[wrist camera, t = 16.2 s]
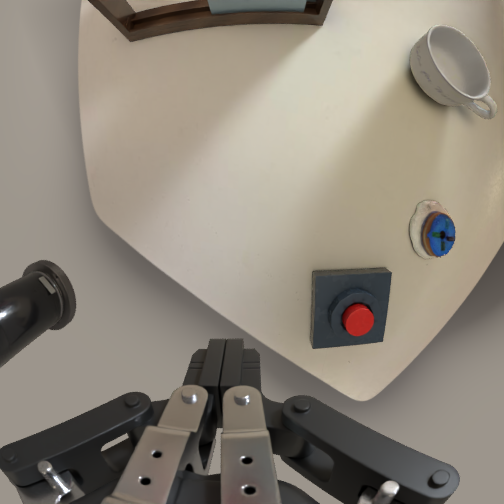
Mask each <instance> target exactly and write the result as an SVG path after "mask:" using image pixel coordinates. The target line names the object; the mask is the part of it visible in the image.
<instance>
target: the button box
mask: <svg viewBox="0 0 504 504" xmlns="http://www.w3.org/2000/svg"><path fill="white" fill-rule="evenodd" d="M391 275H392V272H391V271H389V270H388V269H386V268H370V269H350V270H328V271H313V281H312V314H311V336H310V341H311V345H312V348H313V349H316V348H329V347H340V346H350V345H360V344H368V343H377V342H383V337H384V331H385V325H386V318H387V310H388V303H389V294H390V285H391ZM357 303H360V304H364V305H365V306H367V308H368V309H369V310H370V311H371V312H372V314H373V316H374V324H373V326H372V328H371V329H370V330H369V331H368V332H367V333H366V334H364V335H361V336H353V335H351V334H349V333H348V331H347V330H346V328H345V326H344V324H343V322H342V317H343V314H344V312H345V310H346V309H347V308H348V307H349V306H351V305H353V304H357Z"/></svg>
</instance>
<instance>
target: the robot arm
mask: <svg viewBox="0 0 504 504" xmlns="http://www.w3.org/2000/svg"><path fill="white" fill-rule="evenodd" d="M63 314H64V300H63V296H62V293H61V291H60V289H59V287H58V285H57V284H56V282H55V281H54V280H53V278H52V277H51V276H49V275H48V274H47V273H45V272H43V271H39V270H37V271H33V272H31V273H29V274H28V275H26V276H24V277H22V278H20V279H18V280H15V281H13V282H11V283H9V284H7V285H6V286H3V287H1V288H0V368H1V367H2V366H3V365H4V364H6V363H7V362H8V361H9V360H10V359H11V358H13V357H14V356H15V355H16V354H17V353H19V352H20V351H21V350H22V349H23V348H25V347H26V346H27V345H29V344H30V343H31V342H32V341H34V340H35V339H36V338H37V337H39V336H40V335H41V334H42V333H44V332H45V331H46V330H47V329H49V328H50V327H52V326H53V325H55V324H56V323H58V322H59V321H60V320H61V319H62V317H63ZM243 343H244V342H243V339H227V340H226V339H210V341H209V345H208V349H199V350H197V351H196V352H195V353H194V354H193V355H192V358H191V362H190V364H189V367H188V370H187V373H186V376H185V379H184V382H183V386H181V387H179V388H177V389H176V390H175V391H174V392H173V393H172V395H171V397H170V399H167V400H161V401H154V402H151V400H150V398H149V397H148V396H147V395H146V394H144V393H141V392H130V393H126V394H124V395H122V396H120V397H118V398H116V399H113V400H111V401H109V402H108V403H105V404H103V405H101V406H99V407H97V408H94V409H92V410H90V411H88V412H86V413H83V414H81V415H79V416H77V417H74V418H72V419H70V420H68V421H65V422H64V423H61V424H59V425H56V426H54V427H51V428H49V429H46V430H44V431H41V432H39V433H36V434H34V435H32V436H29V437H27V438H24V439H21V440H19V441H16V442H13V443H11V444H8V445H6V446H3V447H2V448H1V449H0V469H1V470H2V471H3V472H4V474H5V475H6V476H7V477H8V478H9V480H10V482H11V483H12V484H13V485H14V486H15V487H16V488H17V491H18V493H19V495H20V498H21V500H22V502H23V504H320V503H318V502H317V501H315V500H314V499H313V498H312V497H310V496H309V495H308V494H306V493H305V492H304V491H302V490H301V489H299V488H297V487H296V486H294V485H292V484H289V483H287V482H284V481H281V480H277V475H276V470H275V463H274V458H273V454H276V455H280V457H281V459H282V460H283V461H284V462H285V463H286V464H287V465H289V466H290V467H292V468H293V469H294V470H295V471H297V472H298V473H300V474H301V475H302V476H304V477H305V478H306V479H308V480H309V481H311V482H312V483H314V484H315V485H317V486H318V487H319V488H321V489H322V490H324V491H325V492H327V493H328V494H330V495H331V496H333V497H334V498H336V499H338V500H339V501H341V502H342V503H344V504H444V503H445V501H447V500H448V498H449V497H450V496H451V495H452V494H453V493H454V491H455V490H456V489H457V487H458V485H459V481H460V477H459V474H458V472H457V470H456V469H455V468H454V467H453V466H451V465H449V464H447V463H444V462H442V461H439V460H437V459H434V458H432V457H430V456H427V455H425V454H423V453H420V452H418V451H416V450H414V449H412V448H409V447H407V446H405V445H403V444H401V443H399V442H396V441H394V440H392V439H390V438H388V437H386V436H384V435H382V434H380V433H378V432H376V431H374V430H372V429H370V428H368V427H366V426H364V425H362V424H360V423H358V422H356V421H355V420H353V419H351V418H349V417H347V416H345V415H343V414H342V413H340V412H338V411H336V410H334V409H333V408H331V407H329V406H327V405H326V404H324V403H322V402H320V401H319V400H317V399H315V398H313V397H310V396H304V395H299V396H294V397H291V398H289V399H287V400H286V401H285V402H284V403H278V402H274V401H271V400H269V399H267V398H265V396H264V395H263V394H262V392H261V377H260V355H259V353H258V352H257V351H256V350H255V349H244V344H243ZM217 428H223V433H221V473H220V474H214V475H208V473H209V469H210V464H211V460H212V456H213V452H214V448H215V443H216V439H215V436H216V429H217ZM126 433H127V434H128V436H129V438H128V439H126V440H124V441H122V442H120V443H118V444H116V445H114V446H112V447H110V448H108V449H106V450H104V451H102V452H101V448H102V446H104V445H105V444H106V443H108V442H110V441H112V440H114V439H116V438H118V437H120V436H122V435H124V434H126Z"/></svg>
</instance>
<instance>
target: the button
mask: <svg viewBox="0 0 504 504" xmlns="http://www.w3.org/2000/svg"><path fill="white" fill-rule="evenodd" d="M342 322H343V324H344V326H345V328H346V330H347V331H348V333H349V334H351V335H353V336H361V335H364V334H366V333H367V332H368V331H369V330H370V329H371V328H372V326H373V324H374V316H373V314H372V312H371V311H370V310H369V309H368V308H367V306H365V305H364V304H360V303H357V304H353V305H351V306H349V307H348V308H347V309H346V310H345V312H344V314H343V317H342Z"/></svg>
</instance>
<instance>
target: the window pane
mask: <svg viewBox="0 0 504 504" xmlns="http://www.w3.org/2000/svg"><path fill="white" fill-rule="evenodd" d="M207 1H208V4H209V7H210V11H211V14H212V15H214V14H225V13H238V12H260V11H286V12H304V9H305V5H306V1H307V0H207Z"/></svg>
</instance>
